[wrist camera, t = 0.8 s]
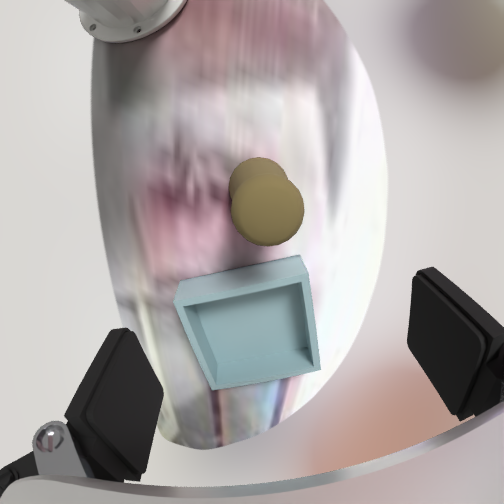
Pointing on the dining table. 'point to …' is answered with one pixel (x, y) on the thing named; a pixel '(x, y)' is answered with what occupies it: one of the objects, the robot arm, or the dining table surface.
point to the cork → (264, 202)
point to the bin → (251, 322)
